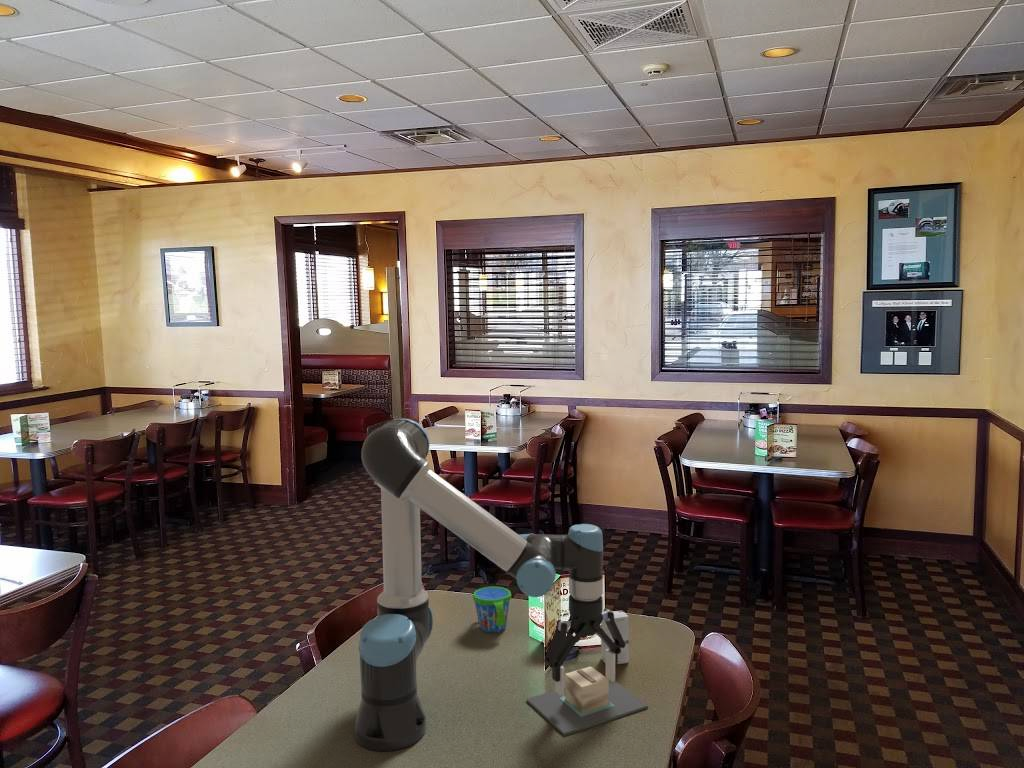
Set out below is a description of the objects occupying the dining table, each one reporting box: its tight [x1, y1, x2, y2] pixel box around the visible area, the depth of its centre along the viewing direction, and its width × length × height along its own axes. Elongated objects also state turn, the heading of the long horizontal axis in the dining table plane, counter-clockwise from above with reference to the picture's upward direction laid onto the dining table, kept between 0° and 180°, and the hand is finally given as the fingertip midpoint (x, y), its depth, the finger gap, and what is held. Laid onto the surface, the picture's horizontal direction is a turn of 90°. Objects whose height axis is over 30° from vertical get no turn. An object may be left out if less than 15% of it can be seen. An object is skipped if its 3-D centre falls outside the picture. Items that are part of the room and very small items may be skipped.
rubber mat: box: [526, 674, 649, 737], centre depth 169 cm, size 22×16×1 cm
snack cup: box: [472, 586, 512, 633], centre depth 209 cm, size 16×10×10 cm
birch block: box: [564, 666, 609, 713], centre depth 168 cm, size 7×7×6 cm
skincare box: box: [600, 610, 630, 665], centre depth 189 cm, size 6×4×12 cm
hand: (585, 686), depth 168 cm, fingers open, 13 cm apart
